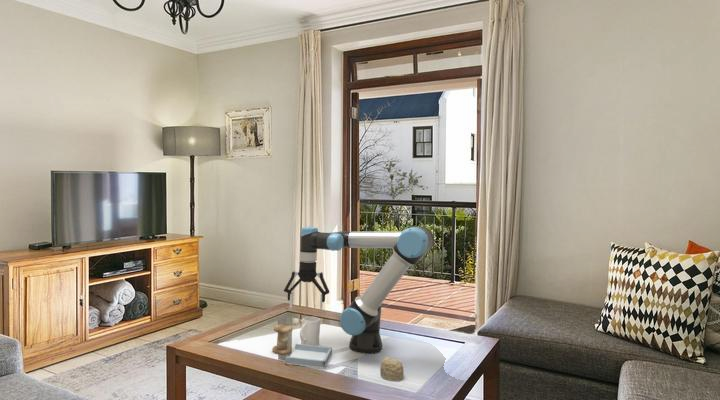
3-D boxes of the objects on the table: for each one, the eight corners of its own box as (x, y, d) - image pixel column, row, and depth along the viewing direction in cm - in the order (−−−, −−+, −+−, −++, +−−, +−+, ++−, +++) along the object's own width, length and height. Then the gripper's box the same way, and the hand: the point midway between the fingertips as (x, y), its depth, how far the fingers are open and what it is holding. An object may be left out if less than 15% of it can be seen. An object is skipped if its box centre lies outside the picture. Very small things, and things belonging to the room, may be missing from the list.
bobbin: (293, 349, 197) (294, 325, 197) (288, 355, 189) (289, 330, 189) (275, 347, 198) (277, 323, 198) (269, 353, 190) (271, 328, 190)
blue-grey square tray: (331, 354, 193) (332, 347, 193) (324, 369, 176) (324, 361, 176) (295, 350, 195) (296, 343, 195) (284, 364, 178) (285, 357, 178)
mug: (305, 351, 195) (307, 323, 195) (291, 346, 200) (293, 319, 200) (323, 345, 204) (324, 319, 204) (309, 340, 209) (311, 315, 209)
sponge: (385, 381, 179) (372, 360, 178) (405, 368, 179) (393, 347, 179) (388, 391, 169) (375, 369, 169) (410, 377, 170) (396, 355, 170)
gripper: (336, 261, 205) (334, 307, 205) (282, 258, 205) (279, 305, 205) (335, 263, 197) (332, 311, 197) (278, 261, 198) (276, 309, 198)
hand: (305, 308), depth 201 cm, fingers open, 13 cm apart
